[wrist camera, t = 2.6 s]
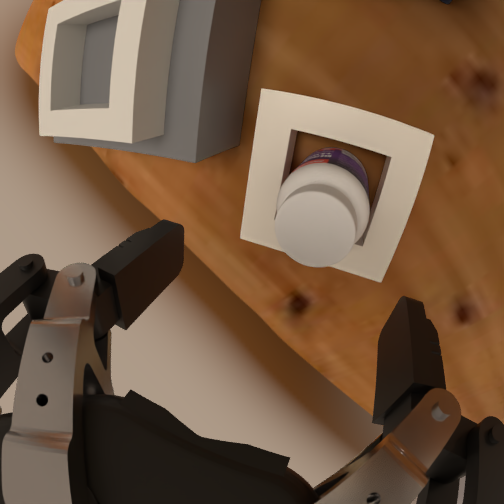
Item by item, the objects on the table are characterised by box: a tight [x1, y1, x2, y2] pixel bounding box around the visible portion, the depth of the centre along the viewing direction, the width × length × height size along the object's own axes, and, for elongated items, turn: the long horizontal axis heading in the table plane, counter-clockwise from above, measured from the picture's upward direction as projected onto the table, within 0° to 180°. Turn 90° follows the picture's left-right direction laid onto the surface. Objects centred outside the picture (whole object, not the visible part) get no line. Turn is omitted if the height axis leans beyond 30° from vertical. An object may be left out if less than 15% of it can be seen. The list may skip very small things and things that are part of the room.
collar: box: [240, 88, 435, 283], centre depth 20 cm, size 12×12×2 cm
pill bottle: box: [275, 147, 370, 267], centre depth 17 cm, size 5×5×10 cm
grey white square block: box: [39, 0, 261, 163], centre depth 16 cm, size 16×14×10 cm
